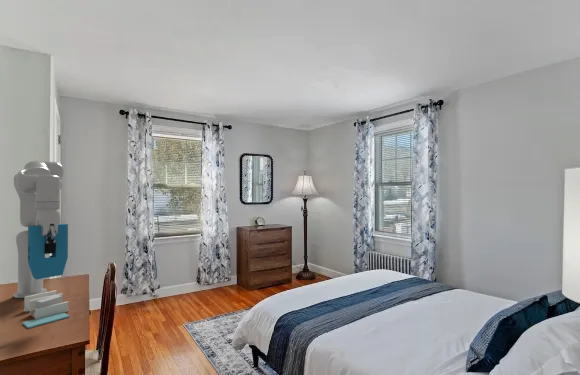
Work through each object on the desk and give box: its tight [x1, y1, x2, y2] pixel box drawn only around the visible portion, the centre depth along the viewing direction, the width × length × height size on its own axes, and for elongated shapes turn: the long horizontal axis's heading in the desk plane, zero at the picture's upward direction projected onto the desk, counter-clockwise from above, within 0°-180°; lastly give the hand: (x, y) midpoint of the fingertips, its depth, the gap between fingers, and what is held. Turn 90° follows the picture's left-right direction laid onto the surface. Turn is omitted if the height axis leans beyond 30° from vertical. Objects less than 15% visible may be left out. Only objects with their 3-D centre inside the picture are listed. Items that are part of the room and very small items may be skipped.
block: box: [27, 223, 69, 280], centre depth 122 cm, size 12×5×20 cm, turn 143°
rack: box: [23, 289, 70, 319], centre depth 131 cm, size 16×11×6 cm
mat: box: [22, 312, 70, 329], centre depth 121 cm, size 7×13×1 cm, turn 143°
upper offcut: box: [35, 294, 64, 309], centre depth 129 cm, size 4×8×3 cm, turn 161°
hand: (47, 252), depth 122 cm, fingers closed on block, 5 cm apart
